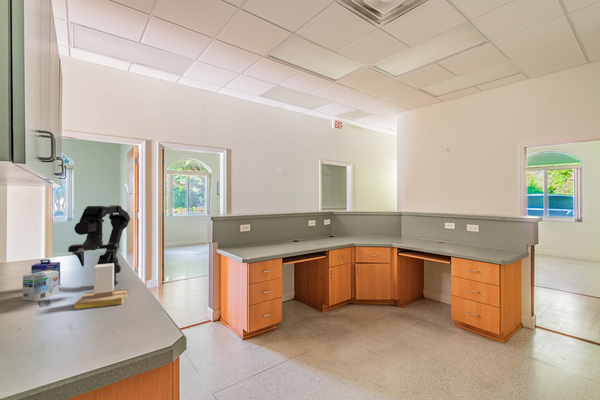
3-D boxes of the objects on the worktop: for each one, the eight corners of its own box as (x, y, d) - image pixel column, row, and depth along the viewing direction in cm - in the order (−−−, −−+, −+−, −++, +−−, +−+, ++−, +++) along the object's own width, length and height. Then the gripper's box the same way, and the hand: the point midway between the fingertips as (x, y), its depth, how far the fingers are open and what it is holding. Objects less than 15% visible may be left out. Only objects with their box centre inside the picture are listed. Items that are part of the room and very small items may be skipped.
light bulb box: (33, 301, 121) (33, 276, 121) (21, 300, 123) (21, 275, 123) (59, 293, 132) (59, 270, 132) (48, 292, 133) (48, 269, 133)
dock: (86, 298, 125) (86, 292, 125) (128, 294, 131) (128, 288, 131) (74, 309, 112) (74, 303, 112) (121, 304, 118) (121, 298, 118)
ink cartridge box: (30, 290, 135) (30, 260, 135) (36, 287, 141) (36, 258, 141) (55, 288, 139) (56, 259, 139) (60, 285, 144) (60, 257, 144)
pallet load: (96, 294, 123) (96, 264, 123) (113, 292, 126) (114, 263, 126) (93, 298, 118) (94, 267, 118) (112, 296, 121) (112, 265, 121)
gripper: (63, 235, 121) (62, 271, 121) (113, 233, 128) (113, 267, 128) (73, 232, 132) (72, 265, 132) (119, 231, 139) (119, 262, 138)
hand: (94, 265), depth 132 cm, fingers open, 9 cm apart
